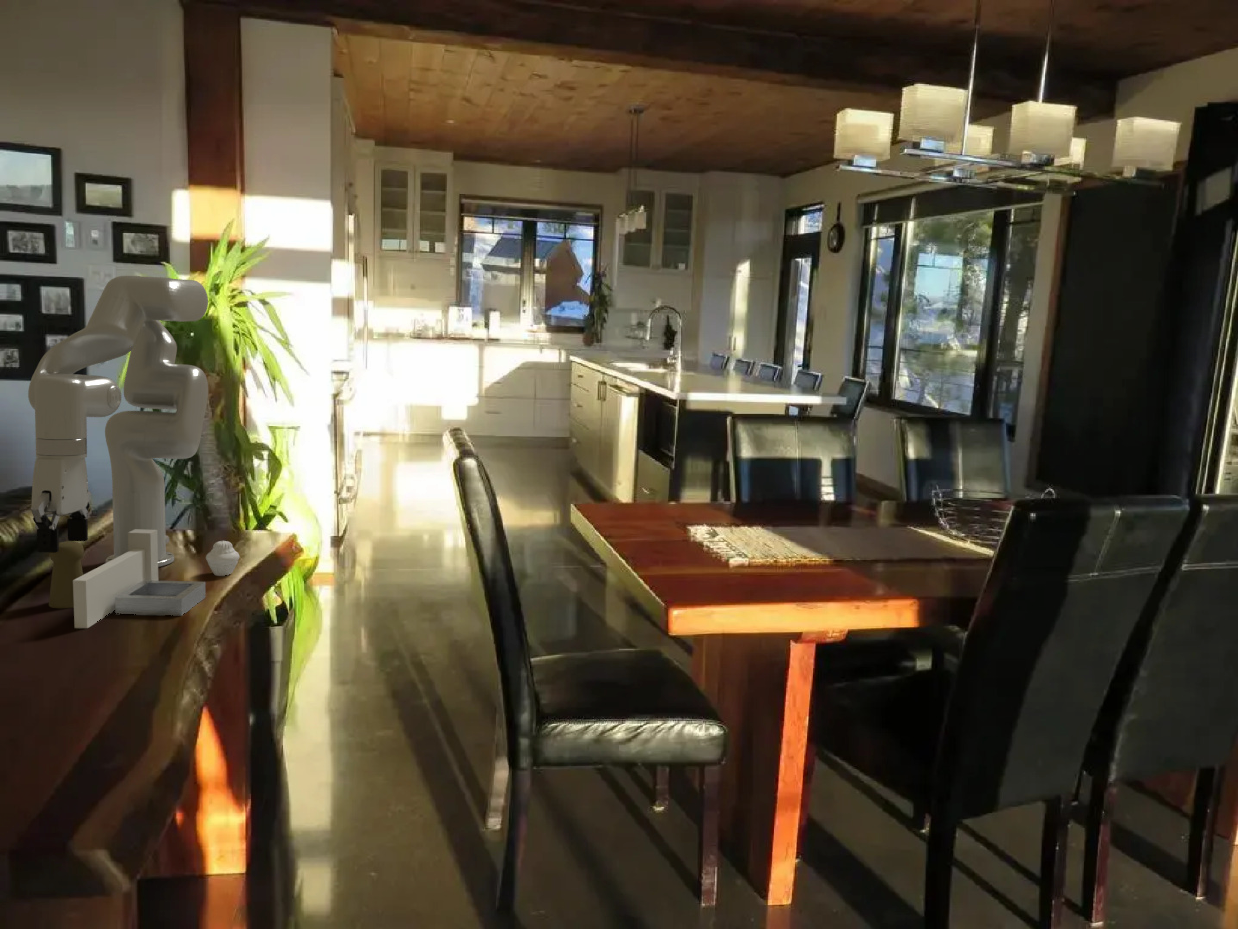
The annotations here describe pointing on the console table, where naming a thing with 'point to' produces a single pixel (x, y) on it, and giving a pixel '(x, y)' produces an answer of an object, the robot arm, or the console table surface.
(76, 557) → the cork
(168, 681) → the console table surface
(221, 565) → the muffin
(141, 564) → the door panel
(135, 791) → the console table surface
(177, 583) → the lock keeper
